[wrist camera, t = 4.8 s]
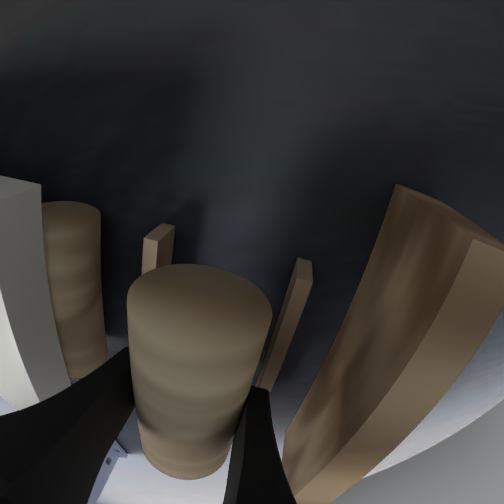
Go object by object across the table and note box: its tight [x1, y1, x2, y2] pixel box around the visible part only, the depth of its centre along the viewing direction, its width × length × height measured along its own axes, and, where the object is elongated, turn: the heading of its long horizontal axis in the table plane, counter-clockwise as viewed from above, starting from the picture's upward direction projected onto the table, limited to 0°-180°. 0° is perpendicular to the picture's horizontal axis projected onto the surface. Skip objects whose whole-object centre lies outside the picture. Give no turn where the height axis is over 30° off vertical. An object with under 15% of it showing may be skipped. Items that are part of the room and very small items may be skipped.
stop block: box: [282, 184, 504, 504], centre depth 11 cm, size 16×2×6 cm, turn 168°
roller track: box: [41, 201, 313, 395], centre depth 13 cm, size 8×25×4 cm, turn 78°
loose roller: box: [127, 264, 272, 480], centre depth 10 cm, size 8×4×4 cm, turn 168°
